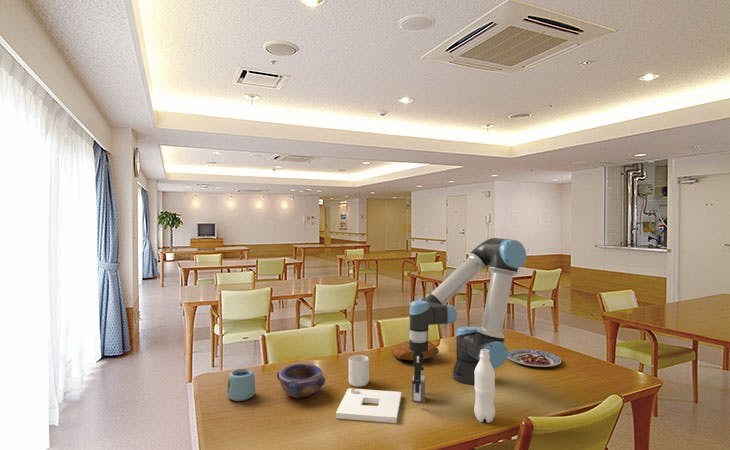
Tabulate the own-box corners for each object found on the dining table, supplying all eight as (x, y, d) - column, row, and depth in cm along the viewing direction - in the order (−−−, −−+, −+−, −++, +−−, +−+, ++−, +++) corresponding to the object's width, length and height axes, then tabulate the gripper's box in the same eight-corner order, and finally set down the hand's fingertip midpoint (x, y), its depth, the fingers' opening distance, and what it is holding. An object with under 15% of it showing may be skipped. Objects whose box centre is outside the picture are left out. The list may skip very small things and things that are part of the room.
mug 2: (370, 387, 177) (370, 361, 177) (350, 388, 175) (350, 362, 175) (365, 376, 189) (365, 352, 189) (346, 377, 187) (346, 353, 187)
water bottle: (471, 415, 151) (471, 347, 151) (490, 414, 152) (490, 346, 152) (478, 424, 144) (478, 353, 144) (498, 424, 145) (498, 353, 145)
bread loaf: (427, 352, 224) (427, 337, 224) (440, 362, 207) (440, 346, 207) (388, 355, 219) (388, 340, 219) (399, 366, 202) (399, 350, 202)
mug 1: (225, 390, 174) (225, 366, 173) (252, 386, 178) (252, 363, 178) (228, 404, 160) (228, 379, 160) (257, 400, 164) (257, 375, 164)
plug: (425, 397, 167) (425, 375, 167) (424, 402, 162) (424, 380, 162) (412, 396, 168) (412, 374, 168) (411, 401, 163) (412, 379, 163)
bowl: (286, 407, 158) (286, 381, 158) (273, 390, 174) (273, 366, 174) (329, 398, 166) (329, 373, 166) (313, 382, 182) (313, 359, 182)
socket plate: (401, 396, 167) (401, 389, 167) (396, 423, 145) (396, 414, 145) (348, 393, 171) (348, 385, 171) (335, 418, 149) (335, 409, 149)
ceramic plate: (564, 358, 214) (564, 353, 214) (557, 374, 192) (557, 368, 192) (512, 350, 228) (512, 345, 228) (500, 364, 206) (500, 358, 206)
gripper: (410, 331, 177) (410, 380, 178) (407, 348, 153) (406, 405, 153) (428, 332, 176) (427, 381, 176) (427, 350, 152) (426, 407, 152)
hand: (417, 393), depth 165 cm, fingers open, 13 cm apart
